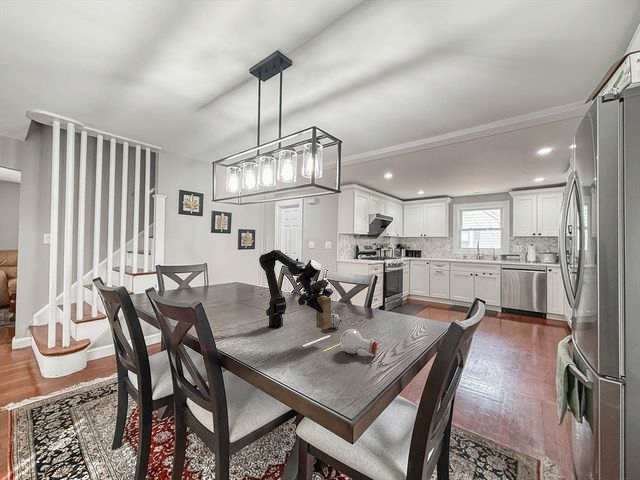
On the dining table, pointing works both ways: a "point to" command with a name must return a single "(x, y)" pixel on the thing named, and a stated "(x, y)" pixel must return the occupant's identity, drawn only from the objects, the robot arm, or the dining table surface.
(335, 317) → the game die
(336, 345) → the strip
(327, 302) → the walnut block
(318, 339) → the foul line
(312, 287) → the robot arm
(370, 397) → the dining table surface
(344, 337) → the potion bottle
